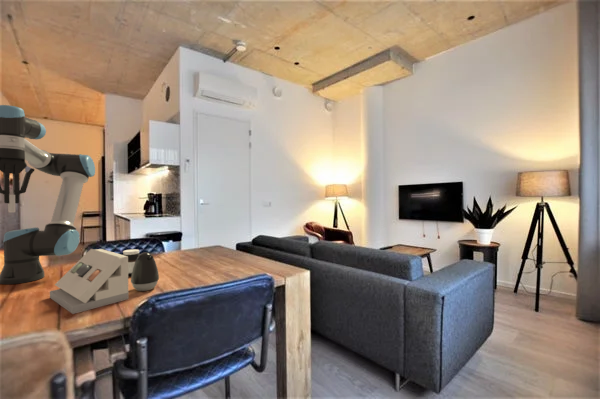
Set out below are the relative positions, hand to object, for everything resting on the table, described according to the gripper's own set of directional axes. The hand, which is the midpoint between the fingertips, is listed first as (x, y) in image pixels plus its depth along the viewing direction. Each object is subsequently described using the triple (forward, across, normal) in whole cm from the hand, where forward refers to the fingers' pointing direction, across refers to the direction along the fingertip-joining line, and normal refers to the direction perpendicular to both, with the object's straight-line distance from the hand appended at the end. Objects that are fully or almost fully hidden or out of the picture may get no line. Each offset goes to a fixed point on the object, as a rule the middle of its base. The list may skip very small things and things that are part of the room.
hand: (11, 212), depth 108 cm
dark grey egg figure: (+33, +35, -28) cm, 55 cm away
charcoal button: (+24, +16, -22) cm, 36 cm away
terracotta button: (+25, +17, -31) cm, 43 cm away
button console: (+32, +18, -22) cm, 43 cm away
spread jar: (+33, +40, +1) cm, 52 cm away
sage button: (+25, +17, -14) cm, 33 cm away
